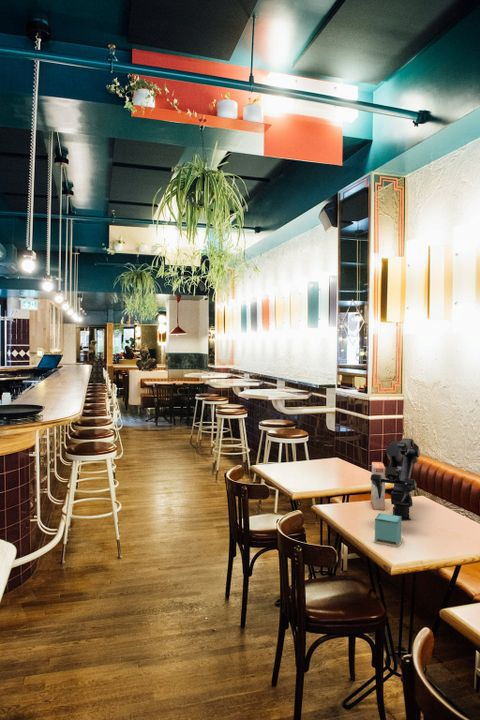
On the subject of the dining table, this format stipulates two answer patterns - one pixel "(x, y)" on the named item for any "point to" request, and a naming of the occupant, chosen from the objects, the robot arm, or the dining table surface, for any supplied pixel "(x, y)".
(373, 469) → the cracker box
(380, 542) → the parcel base
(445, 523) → the dining table surface
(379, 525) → the cover
